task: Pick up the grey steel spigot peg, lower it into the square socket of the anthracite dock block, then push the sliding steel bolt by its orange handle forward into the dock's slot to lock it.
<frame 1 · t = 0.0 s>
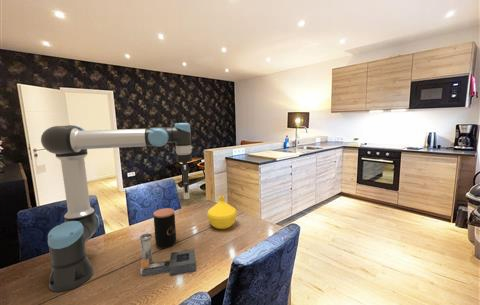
hand: (186, 194, 116), 28 cm above the table, fingers open, 13 cm apart
peg: (148, 264, 104), on the table
bolt: (152, 264, 99), point 3 cm above the table, slide at 0.0 cm
coffee jar: (166, 243, 122), on the table
dock: (183, 265, 103), on the table
vase: (222, 225, 141), on the table
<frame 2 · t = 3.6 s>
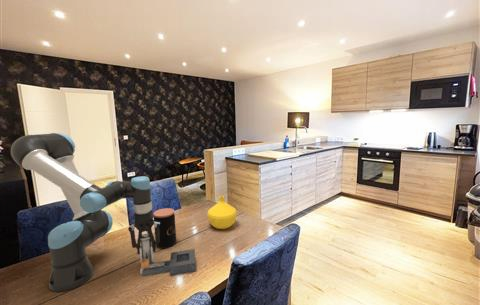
hand: (147, 259, 104), 3 cm above the table, fingers closed on peg, 4 cm apart
peg: (147, 264, 104), on the table, touching gripper
everything else where it was.
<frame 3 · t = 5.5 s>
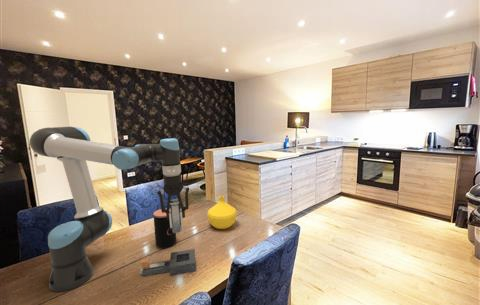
hand: (176, 225, 100), 20 cm above the table, fingers closed on peg, 4 cm apart
peg: (177, 230, 100), point 17 cm above the table, touching gripper
everything else where it was.
when the fingers open (5 cm above the table, at t = 7.8 s): peg drops 1 cm, resting in dock.
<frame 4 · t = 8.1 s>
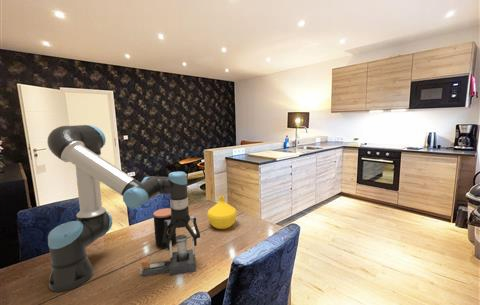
hand: (182, 254, 102), 6 cm above the table, fingers open, 9 cm apart
peg: (183, 265, 103), resting in dock
everything else where it was.
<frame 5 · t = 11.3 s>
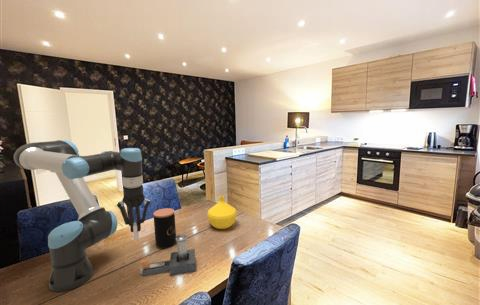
hand: (136, 238, 97), 16 cm above the table, fingers closed
nothing on the table moved.
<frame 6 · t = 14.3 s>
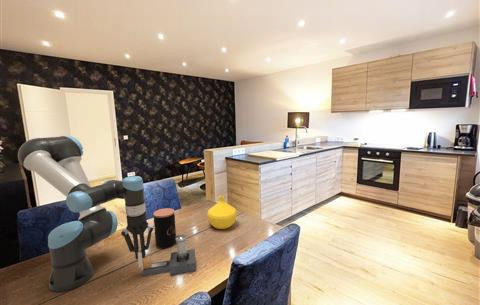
hand: (141, 264, 98), 4 cm above the table, fingers closed
bolt: (154, 264, 99), point 3 cm above the table, slide at 0.7 cm, touching gripper
everything else where it was.
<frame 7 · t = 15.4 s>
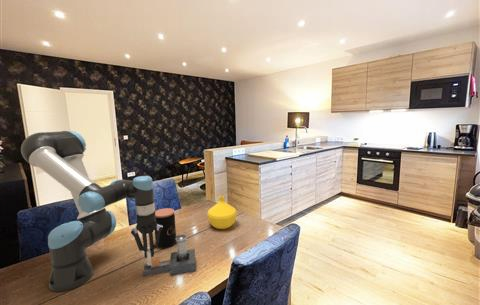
hand: (150, 263, 99), 4 cm above the table, fingers closed
bolt: (162, 263, 100), point 3 cm above the table, slide at 4.2 cm, touching gripper
everything else where it was.
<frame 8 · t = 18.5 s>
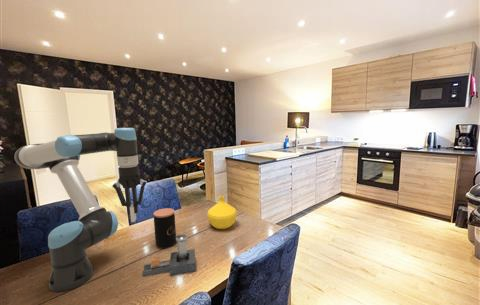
hand: (133, 220, 95), 24 cm above the table, fingers closed
bolt: (162, 263, 100), point 3 cm above the table, slide at 4.2 cm
everything else where it was.
at the end: peg 0.1 cm off-centre on the dock, point 0.0 cm above the dock's base; peg tilted 1°; bolt slide at 4.2 cm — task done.
